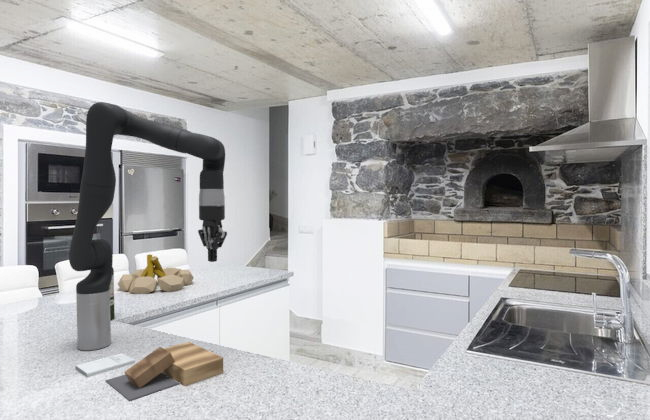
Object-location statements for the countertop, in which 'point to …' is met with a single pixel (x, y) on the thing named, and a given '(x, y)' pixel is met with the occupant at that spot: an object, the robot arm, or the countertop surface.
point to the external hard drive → (104, 364)
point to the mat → (134, 392)
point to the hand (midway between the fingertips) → (212, 261)
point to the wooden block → (193, 363)
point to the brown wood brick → (149, 367)
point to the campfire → (146, 283)
